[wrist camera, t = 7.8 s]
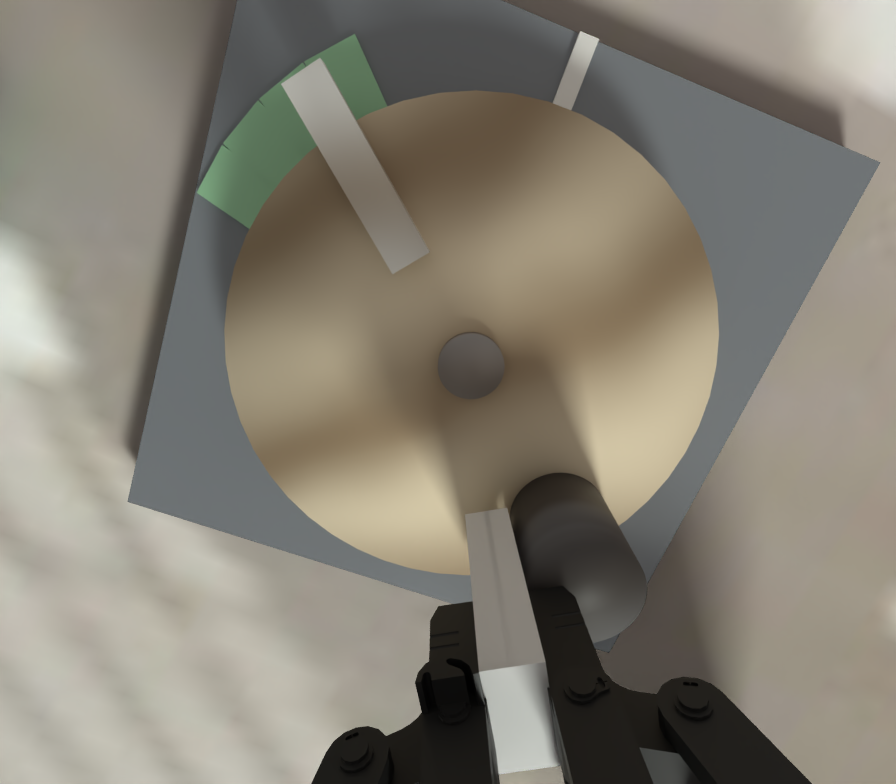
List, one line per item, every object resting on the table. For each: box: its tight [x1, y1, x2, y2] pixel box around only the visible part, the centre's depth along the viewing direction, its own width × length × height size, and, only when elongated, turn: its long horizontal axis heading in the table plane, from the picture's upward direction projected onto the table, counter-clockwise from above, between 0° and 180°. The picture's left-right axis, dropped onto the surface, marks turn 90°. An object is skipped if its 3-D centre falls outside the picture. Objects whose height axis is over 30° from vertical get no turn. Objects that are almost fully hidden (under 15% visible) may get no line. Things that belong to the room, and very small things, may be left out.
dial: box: [224, 58, 719, 643], centre depth 16 cm, size 17×15×6 cm
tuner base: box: [128, 0, 880, 653], centre depth 20 cm, size 20×20×2 cm
